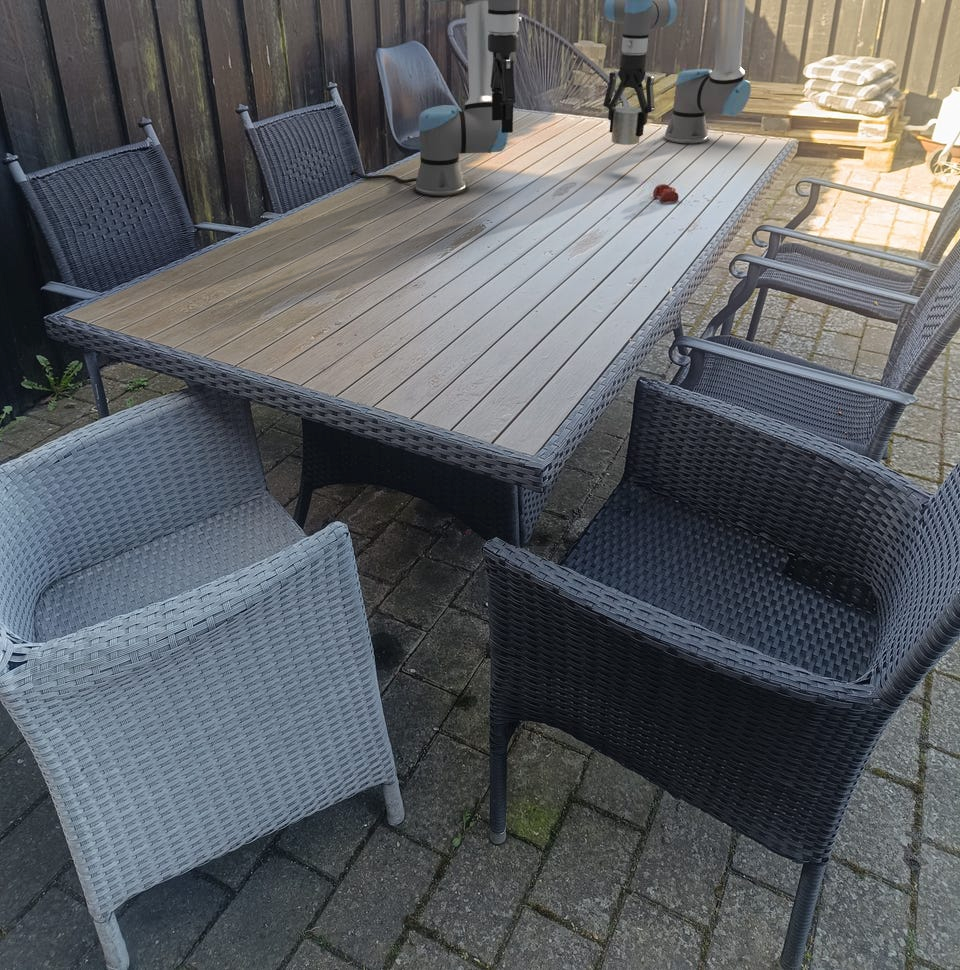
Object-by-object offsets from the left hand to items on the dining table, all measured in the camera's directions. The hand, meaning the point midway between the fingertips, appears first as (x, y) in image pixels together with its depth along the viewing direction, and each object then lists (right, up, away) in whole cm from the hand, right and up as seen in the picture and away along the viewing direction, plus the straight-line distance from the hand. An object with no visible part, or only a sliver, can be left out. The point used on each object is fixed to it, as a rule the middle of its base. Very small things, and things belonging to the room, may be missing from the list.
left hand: (502, 126), depth 216 cm
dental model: (+49, -7, +34) cm, 60 cm away
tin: (+40, +16, +48) cm, 64 cm away
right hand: (+40, +18, +46) cm, 64 cm away
